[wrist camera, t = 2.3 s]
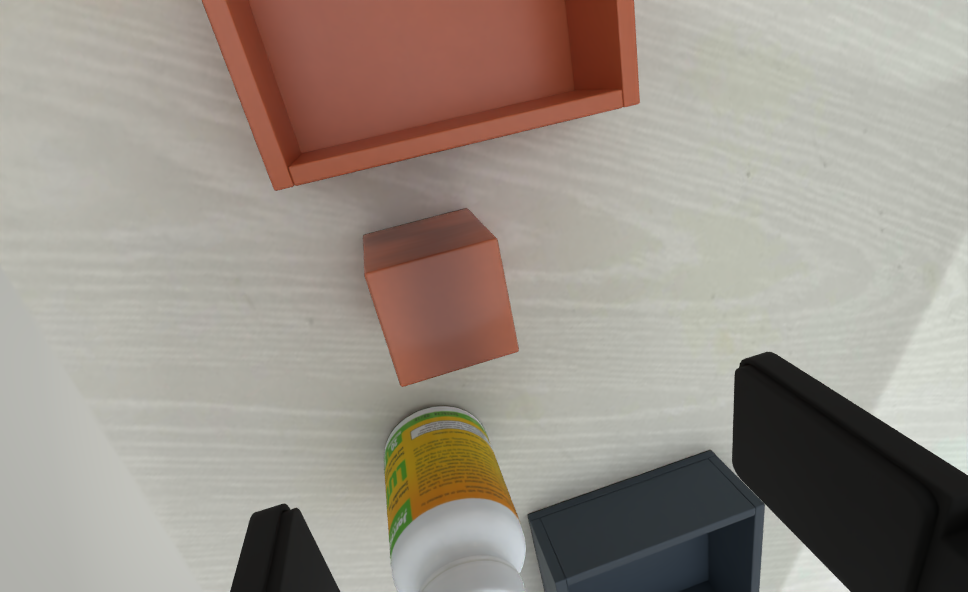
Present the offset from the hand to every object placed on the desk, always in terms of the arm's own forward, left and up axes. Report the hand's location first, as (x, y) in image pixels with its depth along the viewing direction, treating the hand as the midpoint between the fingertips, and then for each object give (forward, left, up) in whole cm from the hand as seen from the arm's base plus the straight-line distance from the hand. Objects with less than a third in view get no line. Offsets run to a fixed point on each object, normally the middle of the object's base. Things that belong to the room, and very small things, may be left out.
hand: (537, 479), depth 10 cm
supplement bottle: (-3, -9, -13) cm, 16 cm away
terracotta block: (-1, 0, -13) cm, 13 cm away
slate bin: (+7, -22, -13) cm, 27 cm away
